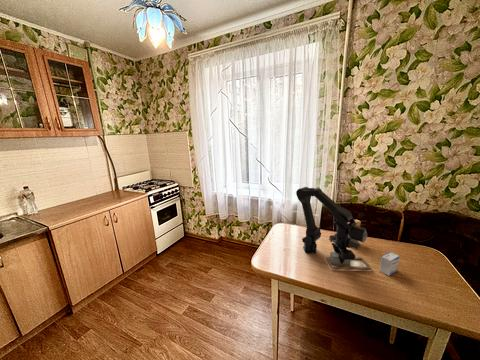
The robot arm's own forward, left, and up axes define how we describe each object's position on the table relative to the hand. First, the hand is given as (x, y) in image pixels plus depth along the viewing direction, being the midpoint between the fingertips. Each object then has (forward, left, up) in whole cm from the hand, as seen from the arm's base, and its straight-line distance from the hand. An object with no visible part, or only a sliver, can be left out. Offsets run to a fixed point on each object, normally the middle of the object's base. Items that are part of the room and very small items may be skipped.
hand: (339, 260), depth 106 cm
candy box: (+16, +21, -3) cm, 26 cm away
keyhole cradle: (+4, 0, -3) cm, 5 cm away
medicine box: (+23, -4, -3) cm, 23 cm away
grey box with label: (0, 0, -1) cm, 1 cm away
